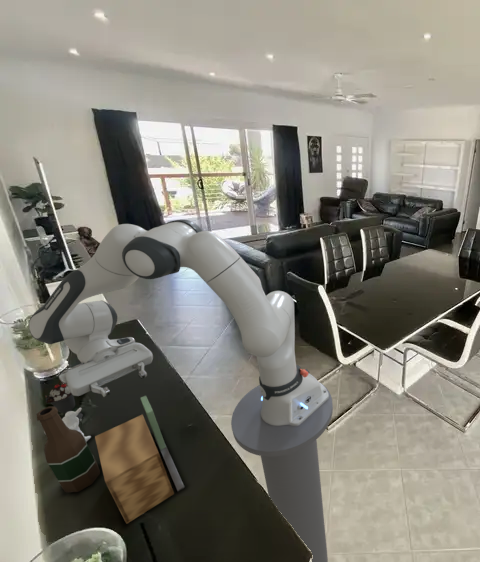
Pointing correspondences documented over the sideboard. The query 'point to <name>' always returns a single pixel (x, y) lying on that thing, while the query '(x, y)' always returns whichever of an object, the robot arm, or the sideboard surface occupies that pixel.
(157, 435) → the sliding door
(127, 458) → the cupboard
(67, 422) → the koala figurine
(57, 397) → the sundae
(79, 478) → the beer bottle
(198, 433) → the sideboard surface
